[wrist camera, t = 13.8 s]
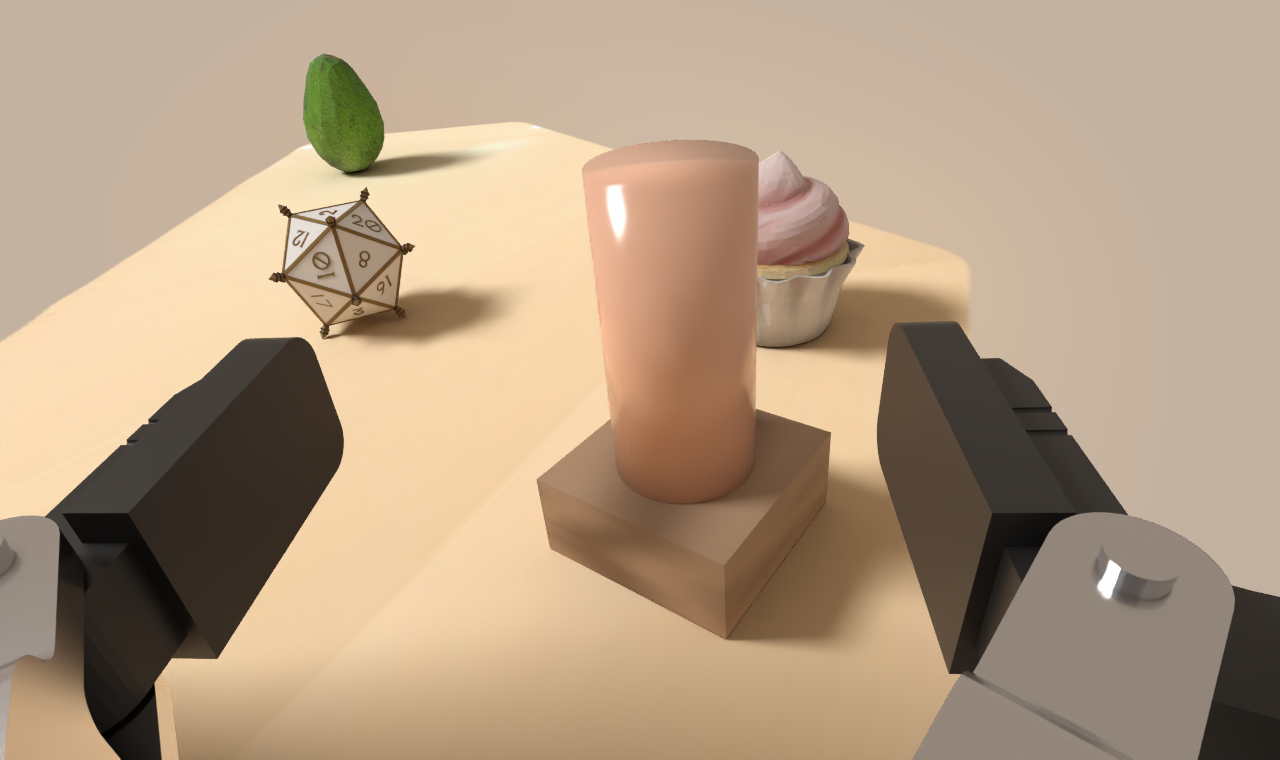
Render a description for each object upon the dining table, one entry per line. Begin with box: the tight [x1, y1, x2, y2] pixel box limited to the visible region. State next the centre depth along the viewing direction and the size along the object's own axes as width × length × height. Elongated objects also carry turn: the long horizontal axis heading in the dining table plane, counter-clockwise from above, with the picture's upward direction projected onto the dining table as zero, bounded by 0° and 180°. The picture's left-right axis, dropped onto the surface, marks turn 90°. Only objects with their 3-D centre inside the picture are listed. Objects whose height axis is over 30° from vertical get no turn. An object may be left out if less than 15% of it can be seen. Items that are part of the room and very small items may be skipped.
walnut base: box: [537, 409, 831, 639], centre depth 28 cm, size 8×8×4 cm
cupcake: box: [756, 151, 865, 347], centre depth 40 cm, size 9×9×10 cm
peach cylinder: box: [582, 140, 759, 504], centre depth 24 cm, size 5×5×11 cm
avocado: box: [303, 54, 384, 172], centre depth 78 cm, size 8×8×12 cm
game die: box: [269, 187, 415, 339], centre depth 46 cm, size 9×8×10 cm
